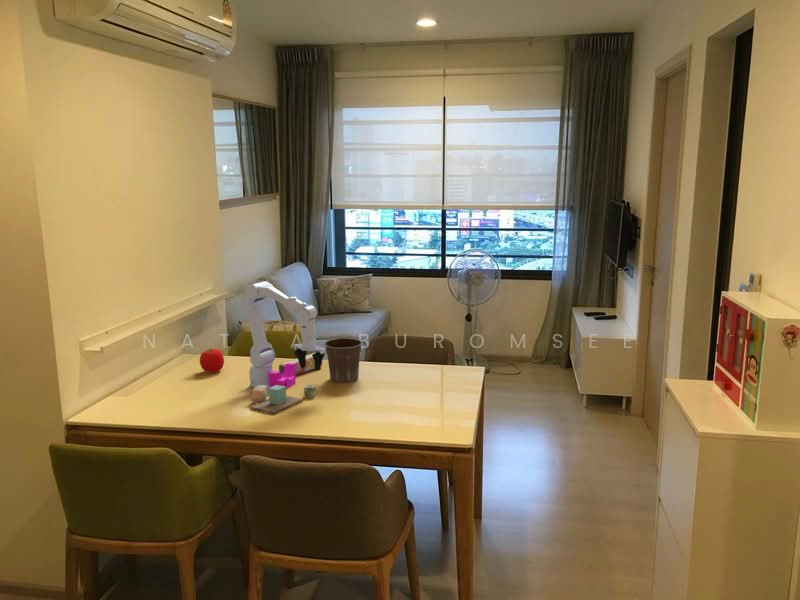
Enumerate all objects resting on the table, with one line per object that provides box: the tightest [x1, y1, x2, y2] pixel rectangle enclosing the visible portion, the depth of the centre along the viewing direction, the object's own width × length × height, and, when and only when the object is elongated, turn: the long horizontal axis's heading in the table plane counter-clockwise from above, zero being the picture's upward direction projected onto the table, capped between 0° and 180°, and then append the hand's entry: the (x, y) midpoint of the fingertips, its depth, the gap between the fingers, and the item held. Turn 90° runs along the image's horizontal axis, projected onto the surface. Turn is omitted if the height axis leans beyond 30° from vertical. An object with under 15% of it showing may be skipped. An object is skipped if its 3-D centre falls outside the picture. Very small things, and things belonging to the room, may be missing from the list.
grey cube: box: [254, 385, 269, 397], centre depth 255 cm, size 4×4×4 cm
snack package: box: [278, 352, 323, 376], centre depth 286 cm, size 21×7×7 cm, turn 140°
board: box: [250, 395, 304, 415], centre depth 244 cm, size 12×16×1 cm
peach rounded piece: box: [252, 387, 267, 404], centre depth 249 cm, size 5×5×5 cm
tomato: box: [199, 348, 225, 373], centre depth 289 cm, size 10×11×11 cm
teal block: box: [268, 385, 287, 405], centre depth 244 cm, size 4×4×6 cm
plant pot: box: [324, 337, 363, 383], centre depth 274 cm, size 16×16×16 cm
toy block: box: [269, 362, 297, 390], centre depth 268 cm, size 15×6×8 cm, turn 160°
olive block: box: [303, 384, 317, 398], centre depth 254 cm, size 4×4×4 cm
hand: (310, 368), depth 255 cm, fingers open, 7 cm apart
